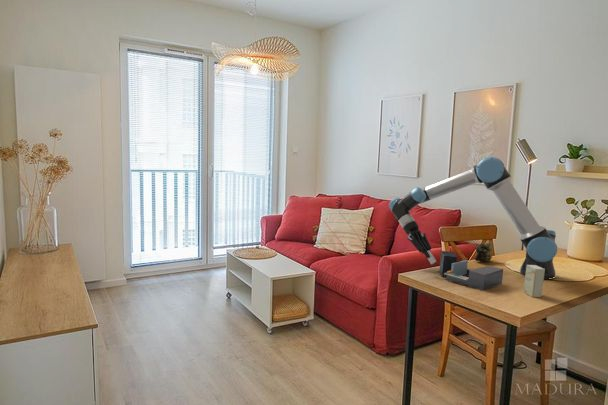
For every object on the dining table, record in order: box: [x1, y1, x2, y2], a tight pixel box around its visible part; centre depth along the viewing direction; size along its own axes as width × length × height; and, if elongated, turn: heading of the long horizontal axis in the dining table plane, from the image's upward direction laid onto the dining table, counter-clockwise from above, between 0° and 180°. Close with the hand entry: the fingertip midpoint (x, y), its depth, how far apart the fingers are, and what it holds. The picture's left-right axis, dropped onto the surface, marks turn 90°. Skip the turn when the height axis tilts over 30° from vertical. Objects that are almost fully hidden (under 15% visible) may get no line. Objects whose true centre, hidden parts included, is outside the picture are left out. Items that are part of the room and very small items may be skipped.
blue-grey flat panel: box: [447, 259, 469, 276], centre depth 191 cm, size 1×16×7 cm, turn 128°
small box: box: [438, 250, 458, 278], centre depth 197 cm, size 11×6×10 cm, turn 168°
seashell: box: [474, 242, 493, 263], centre depth 225 cm, size 11×11×10 cm
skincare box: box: [522, 265, 545, 298], centre depth 171 cm, size 6×4×12 cm
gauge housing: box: [444, 265, 504, 291], centre depth 186 cm, size 18×18×7 cm
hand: (434, 262), depth 203 cm, fingers closed
